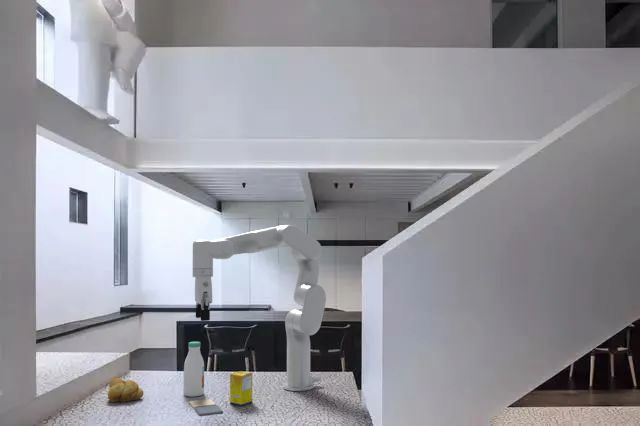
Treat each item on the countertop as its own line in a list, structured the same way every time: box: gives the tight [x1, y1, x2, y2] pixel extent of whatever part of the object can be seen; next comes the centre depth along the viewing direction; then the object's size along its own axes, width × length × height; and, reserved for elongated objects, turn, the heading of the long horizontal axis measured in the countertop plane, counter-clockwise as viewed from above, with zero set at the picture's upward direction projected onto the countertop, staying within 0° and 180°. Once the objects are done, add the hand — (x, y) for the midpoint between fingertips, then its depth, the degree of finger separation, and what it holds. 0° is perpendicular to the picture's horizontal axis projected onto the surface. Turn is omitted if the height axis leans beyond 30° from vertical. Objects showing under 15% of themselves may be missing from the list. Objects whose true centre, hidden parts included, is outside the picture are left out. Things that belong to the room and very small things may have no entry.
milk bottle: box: [183, 341, 205, 398], centre depth 214 cm, size 8×8×20 cm
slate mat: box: [194, 404, 224, 417], centre depth 191 cm, size 8×8×1 cm
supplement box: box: [229, 370, 253, 407], centre depth 201 cm, size 6×6×11 cm
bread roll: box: [107, 376, 144, 403], centre depth 206 cm, size 13×10×8 cm
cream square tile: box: [188, 398, 217, 409], centre depth 199 cm, size 8×8×1 cm
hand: (202, 319), depth 205 cm, fingers open, 9 cm apart
